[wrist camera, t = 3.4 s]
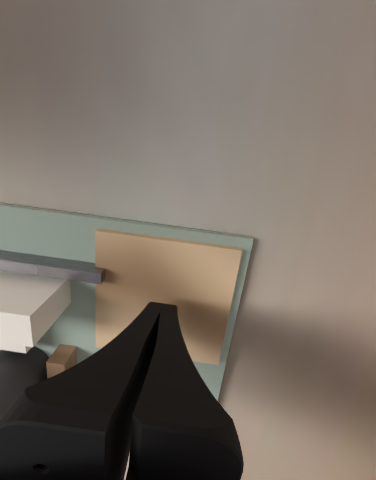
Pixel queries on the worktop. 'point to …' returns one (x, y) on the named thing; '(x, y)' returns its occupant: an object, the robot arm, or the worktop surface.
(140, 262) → the plate
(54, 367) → the cradle
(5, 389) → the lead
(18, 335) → the white t-shaped block
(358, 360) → the worktop surface
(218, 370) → the mat
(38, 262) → the rail
